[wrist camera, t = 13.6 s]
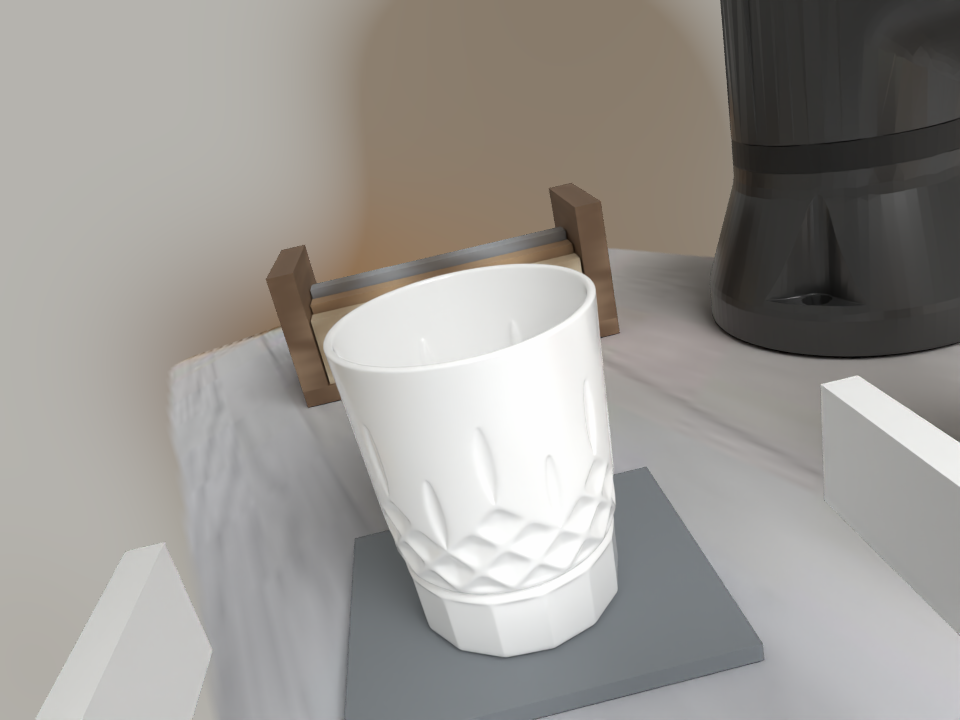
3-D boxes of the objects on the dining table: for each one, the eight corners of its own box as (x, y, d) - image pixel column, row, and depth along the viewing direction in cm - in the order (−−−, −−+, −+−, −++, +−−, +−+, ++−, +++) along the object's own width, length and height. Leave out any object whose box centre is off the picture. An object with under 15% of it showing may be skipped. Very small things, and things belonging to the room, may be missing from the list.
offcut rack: (589, 298, 51) (571, 182, 48) (619, 332, 45) (600, 201, 42) (317, 363, 51) (281, 250, 48) (308, 407, 44) (265, 279, 41)
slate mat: (648, 479, 30) (646, 466, 30) (763, 659, 21) (763, 643, 21) (358, 550, 30) (354, 538, 30) (348, 767, 21) (342, 751, 21)
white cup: (435, 519, 30) (370, 282, 26) (636, 506, 28) (599, 248, 24) (377, 677, 23) (277, 385, 19) (641, 673, 21) (589, 348, 17)
